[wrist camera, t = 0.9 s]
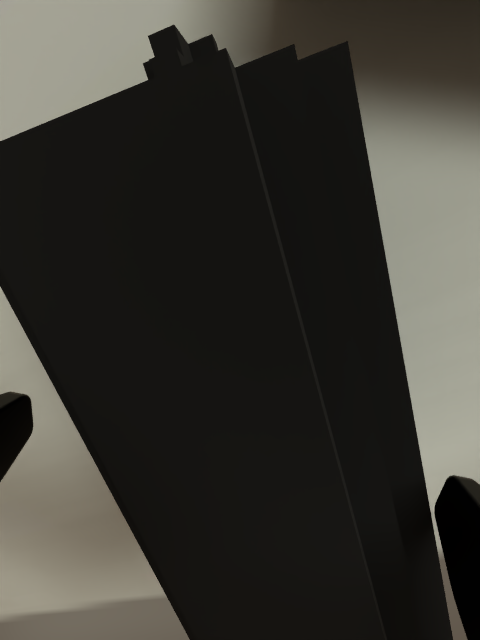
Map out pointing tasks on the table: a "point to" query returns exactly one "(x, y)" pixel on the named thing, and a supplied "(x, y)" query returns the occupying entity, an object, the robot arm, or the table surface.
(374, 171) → the table surface
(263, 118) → the black stepped block
